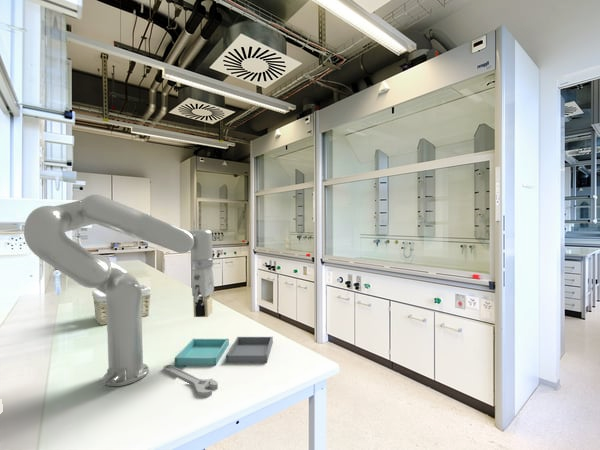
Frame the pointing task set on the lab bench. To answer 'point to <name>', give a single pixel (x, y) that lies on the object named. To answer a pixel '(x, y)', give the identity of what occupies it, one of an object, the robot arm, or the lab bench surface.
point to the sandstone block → (206, 306)
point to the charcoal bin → (250, 350)
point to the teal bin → (202, 352)
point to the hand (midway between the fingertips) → (203, 313)
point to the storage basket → (102, 310)
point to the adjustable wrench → (193, 381)
